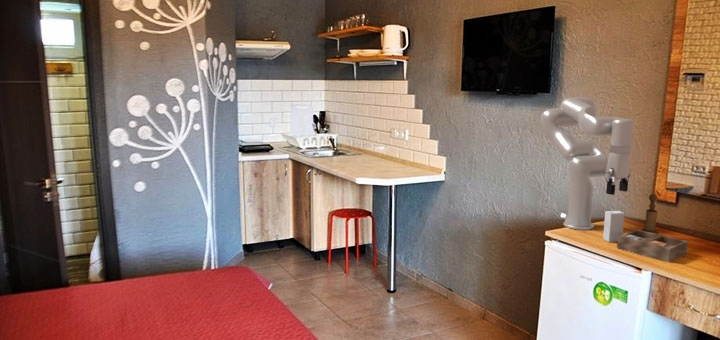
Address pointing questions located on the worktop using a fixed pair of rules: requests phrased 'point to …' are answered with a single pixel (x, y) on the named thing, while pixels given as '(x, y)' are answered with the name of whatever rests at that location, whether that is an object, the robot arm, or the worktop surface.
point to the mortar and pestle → (651, 216)
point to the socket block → (653, 245)
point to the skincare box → (613, 225)
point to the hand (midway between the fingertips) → (616, 192)
